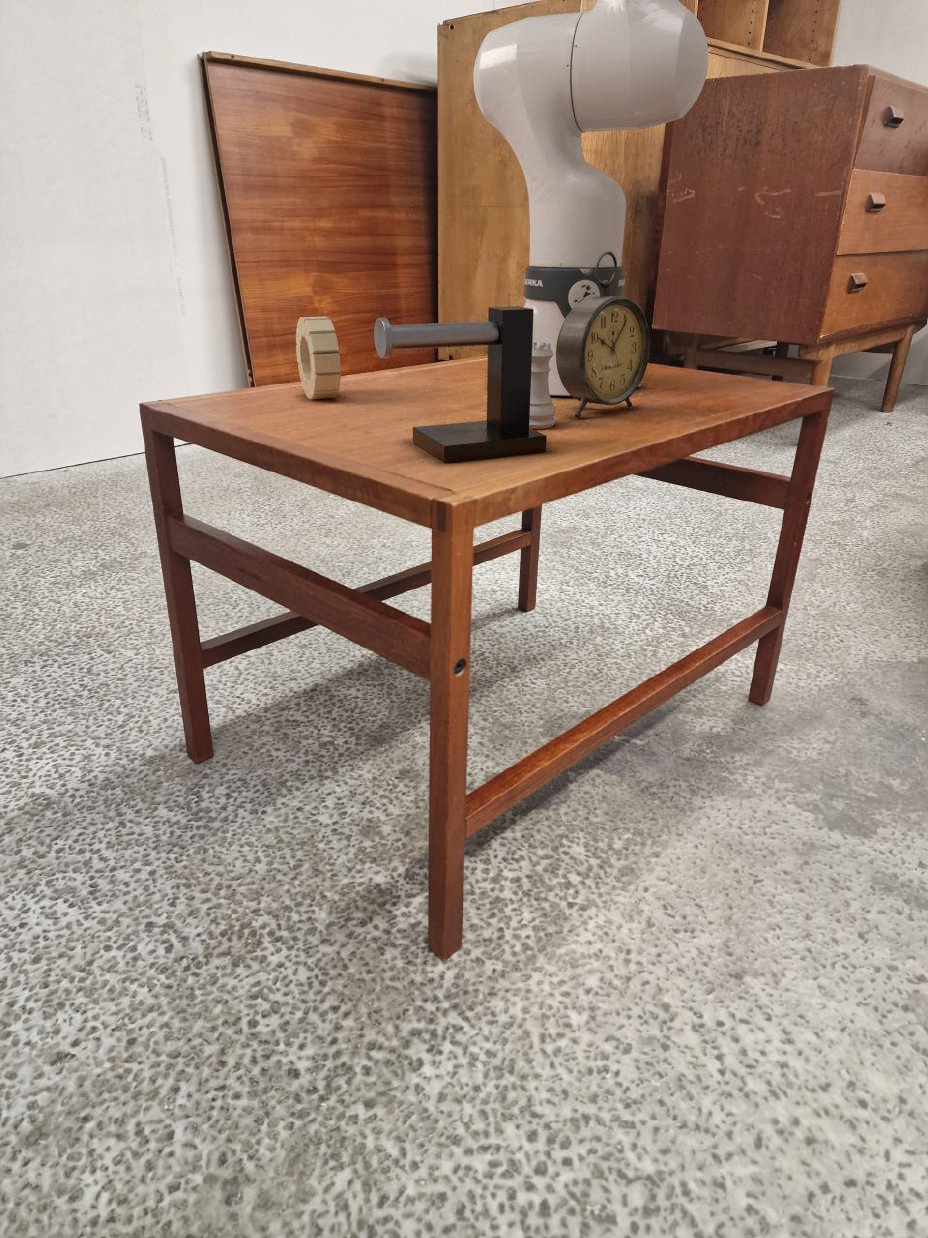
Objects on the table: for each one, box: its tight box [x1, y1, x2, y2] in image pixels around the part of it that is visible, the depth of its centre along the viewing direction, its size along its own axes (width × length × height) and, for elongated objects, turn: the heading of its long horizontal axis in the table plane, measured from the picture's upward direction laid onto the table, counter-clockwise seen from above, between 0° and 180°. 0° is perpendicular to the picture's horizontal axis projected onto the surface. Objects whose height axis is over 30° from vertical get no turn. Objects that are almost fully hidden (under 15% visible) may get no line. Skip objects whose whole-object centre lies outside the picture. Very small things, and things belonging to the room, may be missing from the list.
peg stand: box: [373, 305, 548, 464], centre depth 71 cm, size 14×8×12 cm, turn 113°
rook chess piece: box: [529, 342, 557, 430], centre depth 81 cm, size 4×4×8 cm
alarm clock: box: [556, 251, 651, 419], centre depth 85 cm, size 11×5×16 cm, turn 129°
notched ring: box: [295, 315, 342, 401], centre depth 94 cm, size 9×3×9 cm, turn 23°
